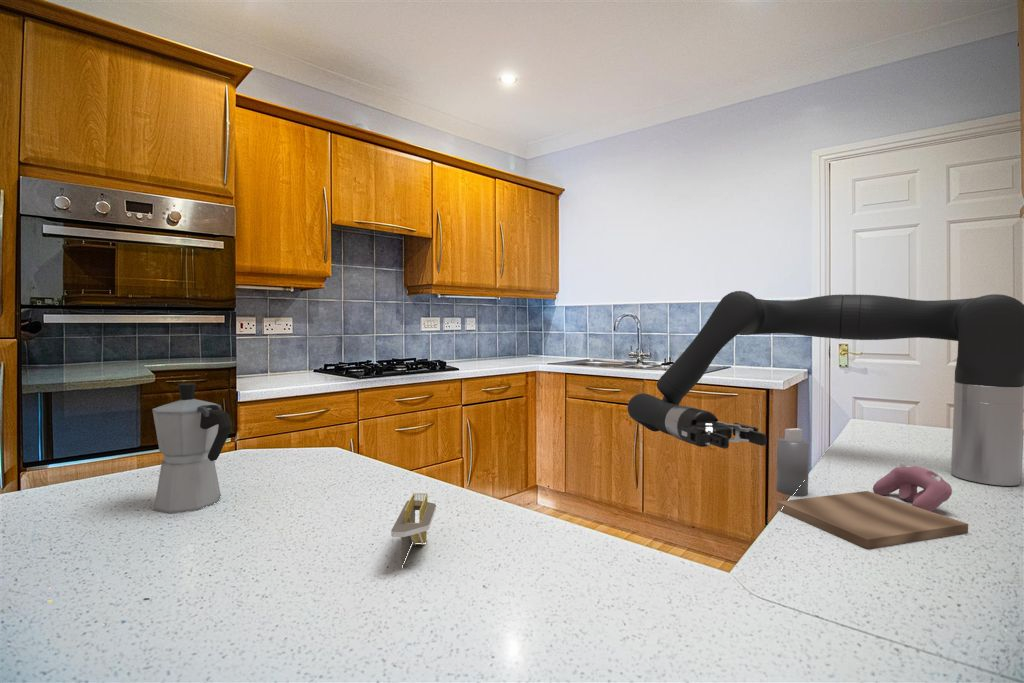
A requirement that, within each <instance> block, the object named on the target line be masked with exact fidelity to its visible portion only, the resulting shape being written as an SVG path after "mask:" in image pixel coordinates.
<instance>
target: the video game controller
mask: <svg viewBox="0 0 1024 683" xmlns="http://www.w3.org/2000/svg"><path fill="white" fill-rule="evenodd" d="M872 488H873V489H872V491H873V492H872V493H876V494H879V495H882V496H886V495H889V494H891V493H894V492H896V491H898V496H899V498H901V499H903V500H905V501H907V502H912V501H913V502H912V504H911V505H912V506H915V507H918V508H921V509H924V510H928V511H931V512H933V511H934V510H936V509H937V508H939V507H940V506H941V505H942V504H943V503H945V502H947V501H948V500H949V499H950V497H951V496H952V494H953V488H952V486H951V484H949V482H947V481H946V480H945V479H943V477H942V476H940V475H939V474H938V473H936V472H934V471H932V470H930V469H927V468H925V467H922V466H918V465H912V466H911V465H906V464H904V463H903V464H900V465H899V467H898V466H897V467H895V468H893V469H892V470H891V471H889V473H887V474H886V475H884V476H883V477H881V478H880V479H878V480H877V481H876V482H875V483H874V484H873V487H872ZM918 488H921V489H922V490H920V491H918Z"/></svg>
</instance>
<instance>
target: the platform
mask: <svg viewBox="0 0 1024 683" xmlns="http://www.w3.org/2000/svg"><path fill="white" fill-rule="evenodd" d="M436 510H437V505H436V503H434V502H428V493H423V492H422V493H417V492H416V493H412V495H411V497H410V499H409V500H407V501H406V502H405V504H404V506H403V508H402V510H401V511H400V513H399V515H398V517H397V518H396V521H395V523H394V524H393V526H392V528H391V530H390V536H391V537H393V538H401V539H400V540H401V541H400V542H401V549H400V550H401V556H400V557H401V562H400V563H401V565H403V563H404V561H405V558H406V556H407V553H408V551H409V549H410V546H411V544H412V542H413V545H412V546H414V544H415V543H422V544H421V546H422V545H423V543H425V542H426V543H427V532H428V531H429V530H430V528H431V526H432V523H433V520H434V516H435V514H436ZM416 511H419V514H418V515H419V518H418V519H419V521H418V522H416ZM401 565H400V566H401Z"/></svg>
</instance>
